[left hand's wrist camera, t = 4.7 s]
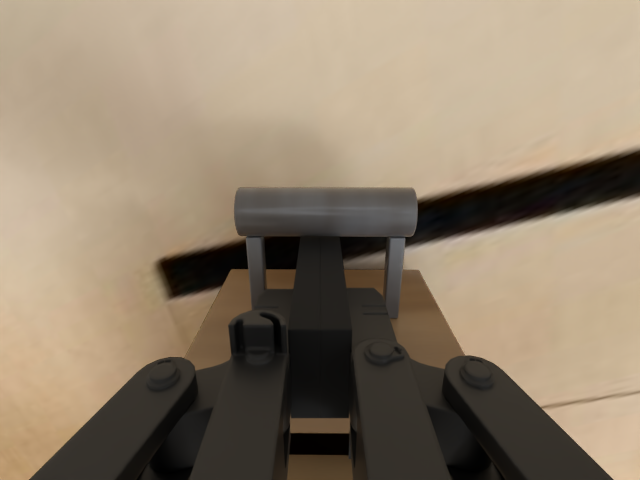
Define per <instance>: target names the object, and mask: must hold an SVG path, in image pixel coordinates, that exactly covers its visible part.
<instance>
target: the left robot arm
mask: <svg viewBox="0 0 640 480" xmlns="http://www.w3.org/2000/svg"><path fill="white" fill-rule="evenodd" d="M228 329H229V338H230V348H231V357H230V360H228V361H226V362H224V363H222V364H219V365H216V366H213V367H209V368H204V369H200V370H195V366H194V365H193V364H192V362H191V361H190V360H187V359H184V358H182V357H168V358H164V359H159V360H157V361H154V362H152V363H150V364H148V365H146V366H145V367H143V368H142V369H141V370H139V371H138V372H137V373H136V374H135V375H134V376H133V377H132V378H131V379H130V380H129V381H128V382H127V383H126V384H125V385H124V386H123V387H122V388H121V389H120V390H119V391H118V392H117V393H116V394H115V395H114V396H113V397H112V398H111V399H110V400H109V401H108V402H107V403H106V404H105V405H104V406H103V407H102V408H101V409H100V410H99V411H98V412H97V413H96V414H95V415H94V416H93V417H92V418H91V419H90V420H89V421H88V422H87V423H86V424H85V425H84V426H83V427H82V428H81V429H80V430H79V431H78V432H77V433H76V434H75V435H74V436H73V437H72V438H71V439H70V440H69V441H68V442H67V443H66V444H65V445H64V446H63V447H62V448H61V449H60V450H59V451H58V452H57V453H56V454H55V455H54V456H53V457H52V458H51V459H50V460H49V461H48V462H47V463H46V464H45V465H44V466H43V467H42V468H41V469H40V470H39V471H37V472H36V473H35V474H34V475H33V476H32V477H31V478H30V479H29V480H287V475H288V463H289V451H290V439H291V433H290V417H291V418H349V415H350V433H349V458H348V459H351V462H352V474H353V480H613V479H612V478H611V477H610V476H609V475H608V474H607V473H606V472H605V471H604V470H603V469H602V468H601V467H600V466H599V465H598V464H597V463H596V462H595V461H594V460H593V459H592V458H591V457H590V456H589V455H588V454H587V453H586V452H585V451H584V450H583V449H582V448H581V447H580V446H579V445H578V444H577V443H576V442H575V441H574V440H573V439H572V438H571V437H570V436H569V435H568V434H567V433H566V432H565V431H564V430H563V429H562V428H561V427H560V426H559V425H558V424H557V423H556V422H555V421H554V420H553V419H552V418H551V417H550V416H548V415H547V414H546V413H545V412H544V411H543V410H542V409H541V408H540V407H539V406H538V405H537V404H536V403H535V402H534V401H533V400H532V399H531V398H530V397H529V396H528V395H527V394H526V393H525V392H524V391H523V390H522V389H521V388H520V387H519V386H518V385H517V384H516V383H515V382H514V381H513V380H512V379H511V378H510V377H509V376H508V375H507V374H506V373H505V372H504V371H503V370H502V369H500V368H499V367H498V366H496V365H495V364H494V363H492V362H489V361H487V360H485V359H483V358H479V357H474V356H457V357H454V358H452V359H450V360H449V361H448V362H447V363H446V365H445V369H442V368H438V367H434V366H429V365H426V364H422V363H419V362H417V361H415V360H413V359H411V358H410V357H409V354H408V352H407V351H406V349H405V348H404V347H403V346H402V345H400V344H399V343H398V342H397V340H396V336H395V333H394V330H393V327H392V324H391V321H390V317H389V315H388V311H387V308H386V305H385V301H384V298H383V296H382V295H381V294H380V293H379V292H378V291H377V290H376V289H375V288H346V281H345V273H344V266H343V259H342V252H341V244H340V237H339V236H301V237H300V244H299V252H298V259H297V266H296V273H295V281H294V288H293V289H265V290H264V291H263V292H262V293H261V294H260V295H259V296H258V297H257V300H256V303H255V306H254V309H253V310H250V311H247V312H244V313H241V314H239V315H238V316H236V317H235V318H233V319H232V320H231V322H230V323H229V325H228Z"/></svg>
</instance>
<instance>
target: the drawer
mask: <svg viewBox="0 0 640 480" xmlns="http://www.w3.org/2000/svg"><path fill="white" fill-rule="evenodd" d="M417 216H418V204H417V197H416V193H415V190H414V189H413V188H312V187H240V188H238V190H237V192H236V196H235V203H234V218H235V226H236V230H237V233H238V234H239V235H240V236H247V237H246V246H247V258H248V269H232V270H231V271H230V273H229V274H228V276H227V278H226V280H225V282H224V284H223V286H222V288H221V290H220V291H219V293H218V295H217V297H216V299H215V301H214V303H213V305H212V307H211V309H210V310H209V312H208V314H207V316H206V318H205V320H204V322H203V324H202V326H201V327H200V329H199V331H198V333H197V335H196V337H195V339H194V341H193V343H192V344H191V346H190V348H189V350H188V352H187V354H186V356H185V358H184V359H187V360H190V361H191V362H192V364H193V365H194V366H195V370H200V369H204V368H209V367H213V366H216V365H219V364H222V363H224V362H226V361H228V360H230V357H231V348H230V338H229V329H228V325H229V323H230V322H231V320H232V319H233V318H235V317H236V316H238V315H239V314H241V313H244V312H247V311H250V310H253V309H254V306H255V303H256V300H257V297H258V296H259V295H260V294H261V293H262V292H263V291H264V290H265V289H293V288H294V281H295V273H296V269H266V260H265V244H264V236H366V237H387V243H386V257H385V270H344V273H345V281H346V288H375V289H376V290H377V291H378V292H379V293H380V294H381V295H382V296H383V298H384V301H385V305H386V308H387V311H388V315H389V317H390V321H391V324H392V327H393V330H394V333H395V336H396V340H397V342H398V343H399V344H400V345H402V346H403V347H404V348H405V349H406V351H407V352H408V354H409V357H410V358H411V359H413V360H415V361H417V362H419V363H422V364H426V365H429V366H434V367H438V368H442V369H445V365H446V363H447V362H448V361H449V360H450V359H452V358H454V357H457V356H465V355H464V353H463V351H462V349H461V347H460V345H459V343H458V342H457V340H456V338H455V336H454V334H453V332H452V331H451V329H450V327H449V325H448V323H447V321H446V319H445V318H444V316H443V314H442V312H441V310H440V308H439V307H438V305H437V303H436V301H435V299H434V297H433V295H432V294H431V292H430V290H429V288H428V286H427V284H426V283H425V281H424V279H423V277H422V275H421V273H420V271H419V270H403V259H404V248H405V237H411V236H413V234H414V232H415V229H416V225H417ZM290 433H291V439H290V451H289V455H349V433H350V415H349V418H291V417H290Z"/></svg>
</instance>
